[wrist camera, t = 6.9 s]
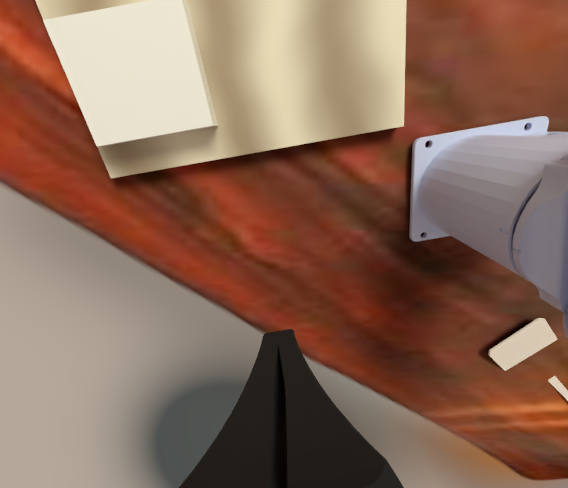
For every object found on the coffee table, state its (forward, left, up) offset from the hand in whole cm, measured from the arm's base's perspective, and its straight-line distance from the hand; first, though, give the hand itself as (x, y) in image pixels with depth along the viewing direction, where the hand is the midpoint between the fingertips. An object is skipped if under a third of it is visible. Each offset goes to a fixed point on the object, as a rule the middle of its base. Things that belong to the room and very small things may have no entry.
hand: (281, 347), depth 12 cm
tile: (+2, -13, -9) cm, 16 cm away
